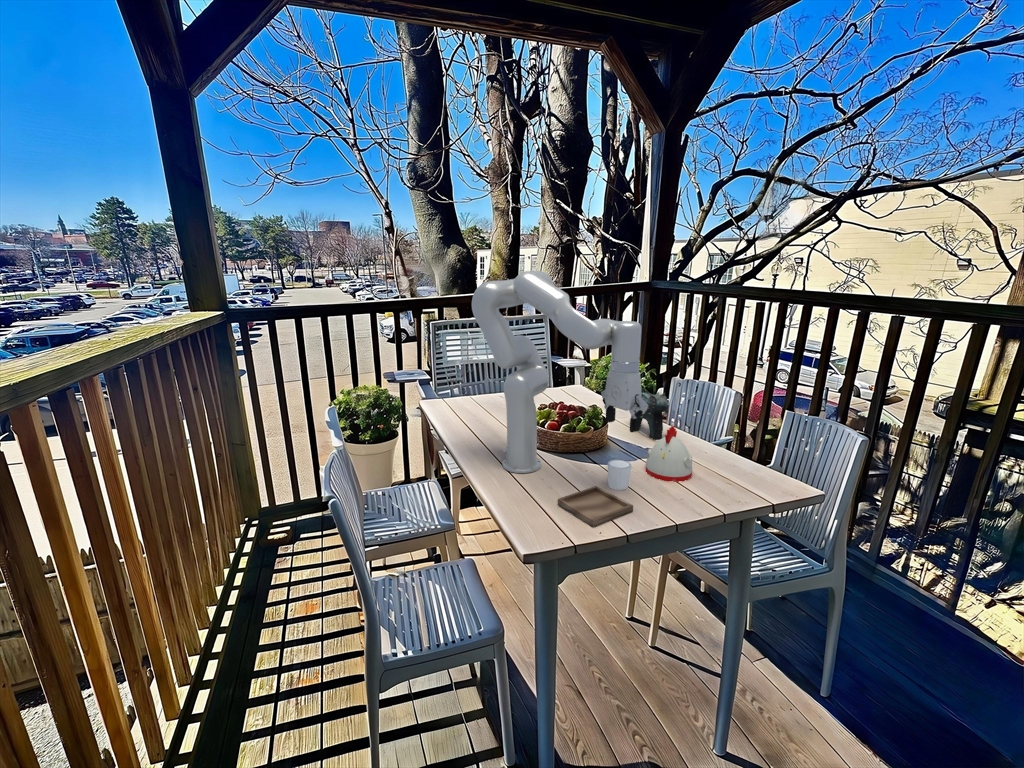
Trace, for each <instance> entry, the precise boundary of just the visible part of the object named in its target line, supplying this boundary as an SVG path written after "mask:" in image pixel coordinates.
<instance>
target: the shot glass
mask: <svg viewBox="0 0 1024 768" xmlns="http://www.w3.org/2000/svg"><path fill="white" fill-rule="evenodd" d="M631 470H632V463H631V462H629V461H626V460H623V459H612V460H608V462H607V480H608V487H609V488H610V489H611V490H614V491H626V490H627V489H628V488H629V482H630V478H631V477H630V476H631Z"/></svg>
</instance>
